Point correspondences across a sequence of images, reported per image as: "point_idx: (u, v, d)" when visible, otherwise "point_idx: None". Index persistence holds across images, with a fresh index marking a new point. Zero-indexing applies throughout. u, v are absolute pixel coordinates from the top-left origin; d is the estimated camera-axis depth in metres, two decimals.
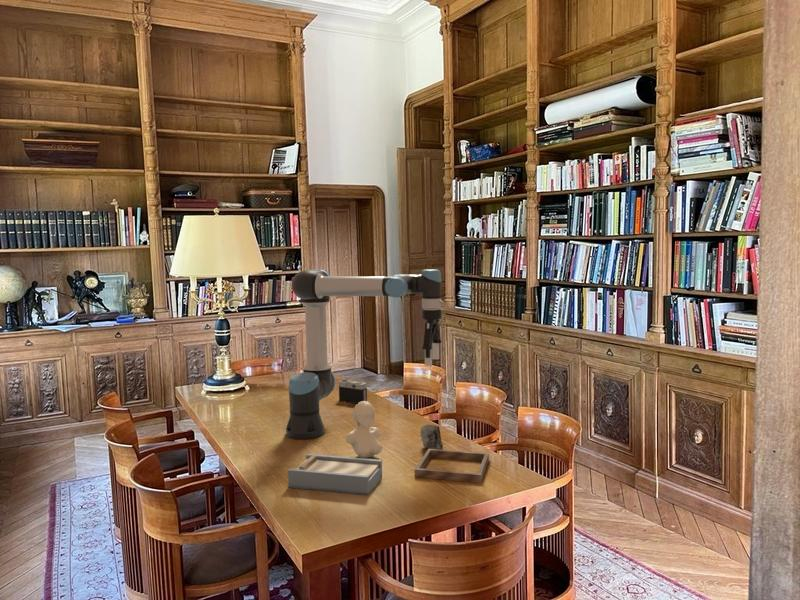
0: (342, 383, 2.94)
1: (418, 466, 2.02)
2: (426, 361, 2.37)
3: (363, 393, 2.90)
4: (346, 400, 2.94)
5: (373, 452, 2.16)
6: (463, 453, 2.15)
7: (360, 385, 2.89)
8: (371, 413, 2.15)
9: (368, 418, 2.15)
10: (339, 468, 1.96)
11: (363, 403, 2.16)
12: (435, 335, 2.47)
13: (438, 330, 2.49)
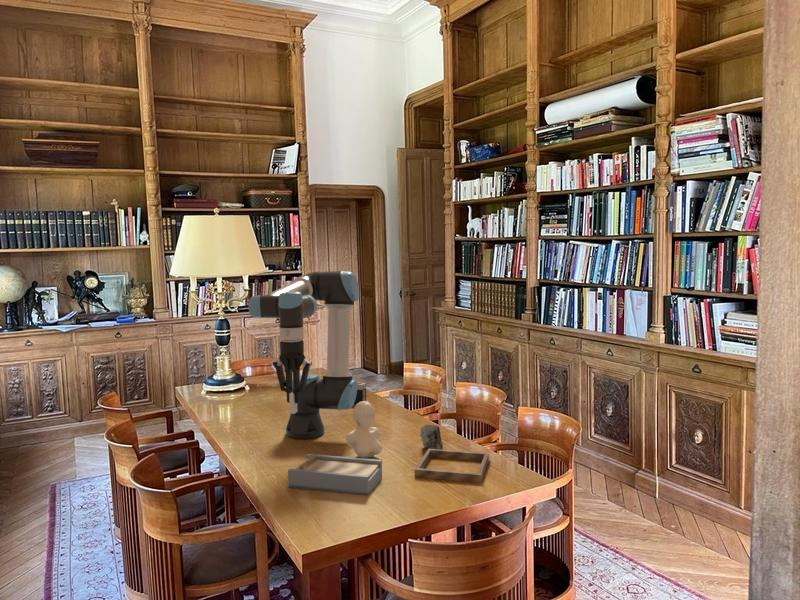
0: None
1: (418, 466, 2.02)
2: None
3: (362, 393, 2.89)
4: None
5: (373, 452, 2.16)
6: (463, 453, 2.15)
7: (359, 385, 2.88)
8: (371, 413, 2.15)
9: (368, 418, 2.15)
10: (339, 468, 1.96)
11: (363, 403, 2.16)
12: None
13: None
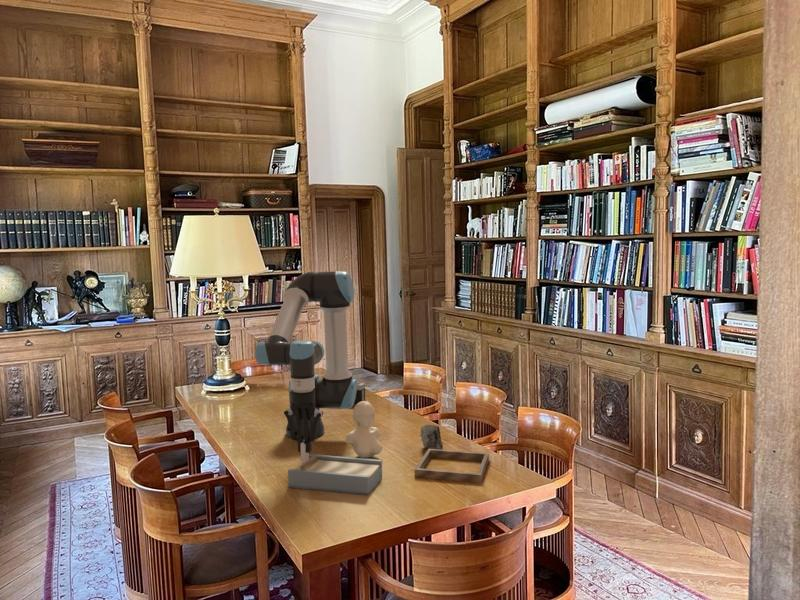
0: None
1: (418, 466, 2.02)
2: None
3: (361, 394, 2.88)
4: None
5: (373, 452, 2.16)
6: (463, 453, 2.15)
7: (358, 386, 2.88)
8: (371, 413, 2.15)
9: (368, 418, 2.15)
10: (340, 468, 1.95)
11: (363, 403, 2.16)
12: None
13: (312, 425, 1.96)
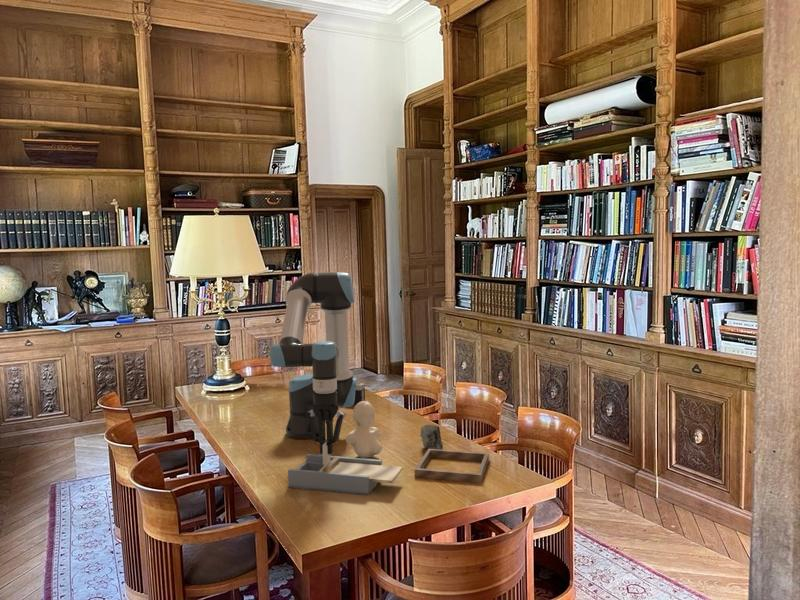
0: None
1: (418, 466, 2.02)
2: None
3: (361, 394, 2.88)
4: None
5: (373, 452, 2.16)
6: (463, 453, 2.15)
7: (358, 386, 2.87)
8: (371, 413, 2.15)
9: (368, 418, 2.15)
10: (363, 471, 1.93)
11: (363, 403, 2.16)
12: None
13: (335, 427, 1.94)
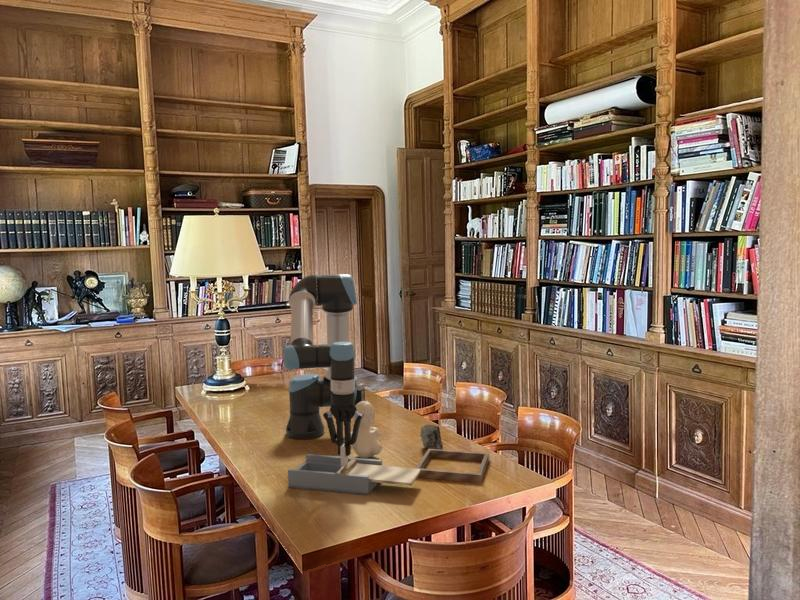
0: None
1: (418, 466, 2.02)
2: None
3: (361, 394, 2.88)
4: None
5: (373, 452, 2.16)
6: (463, 453, 2.15)
7: (358, 386, 2.87)
8: (371, 413, 2.15)
9: (368, 418, 2.15)
10: (381, 473, 1.92)
11: (363, 403, 2.16)
12: None
13: (353, 428, 1.92)
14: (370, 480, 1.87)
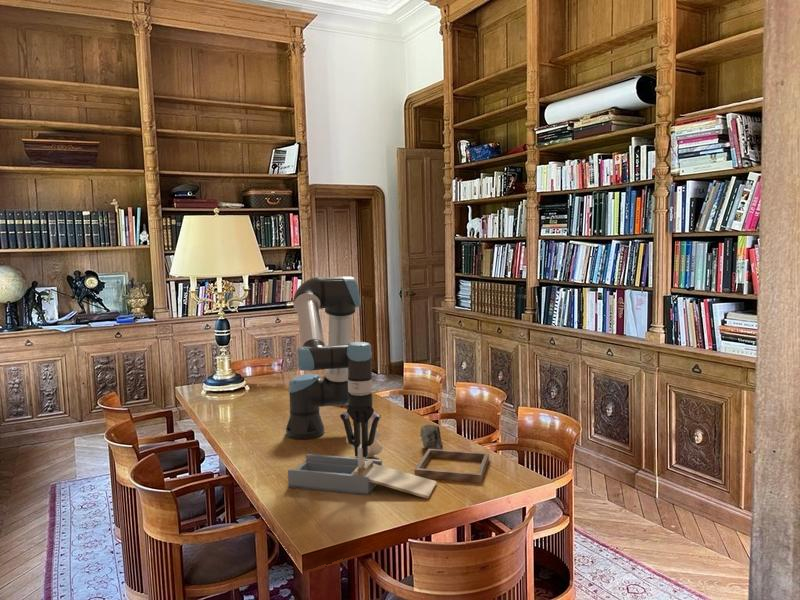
0: None
1: (418, 466, 2.02)
2: None
3: None
4: None
5: (373, 452, 2.16)
6: (463, 453, 2.15)
7: None
8: None
9: None
10: (398, 479, 1.90)
11: None
12: None
13: None
14: (387, 485, 1.86)
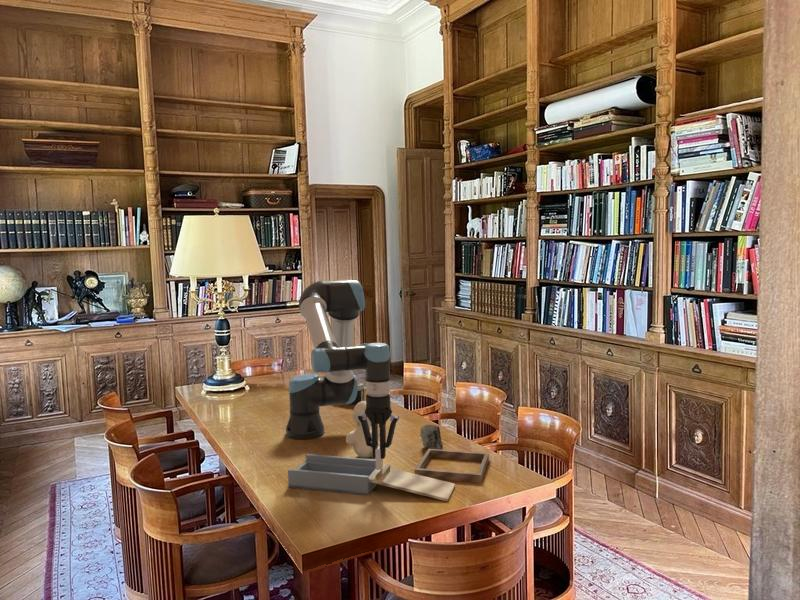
0: None
1: (418, 466, 2.02)
2: None
3: (360, 394, 2.88)
4: None
5: None
6: (463, 453, 2.15)
7: (357, 386, 2.87)
8: None
9: None
10: (416, 483, 1.89)
11: (363, 403, 2.16)
12: None
13: None
14: (406, 489, 1.84)
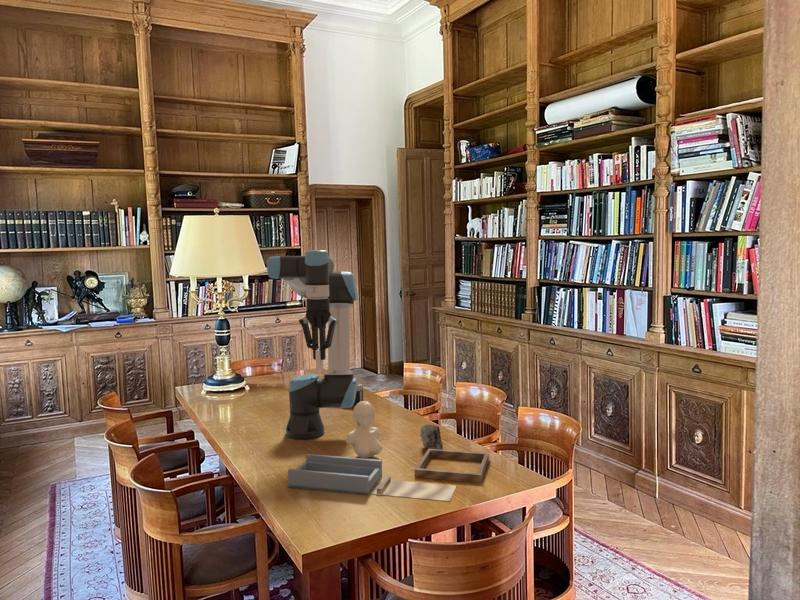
0: None
1: (418, 466, 2.02)
2: None
3: (359, 395, 2.87)
4: None
5: (373, 452, 2.16)
6: (463, 453, 2.15)
7: None
8: (371, 413, 2.15)
9: (368, 418, 2.15)
10: (417, 490, 1.89)
11: (363, 403, 2.16)
12: None
13: None
14: None
